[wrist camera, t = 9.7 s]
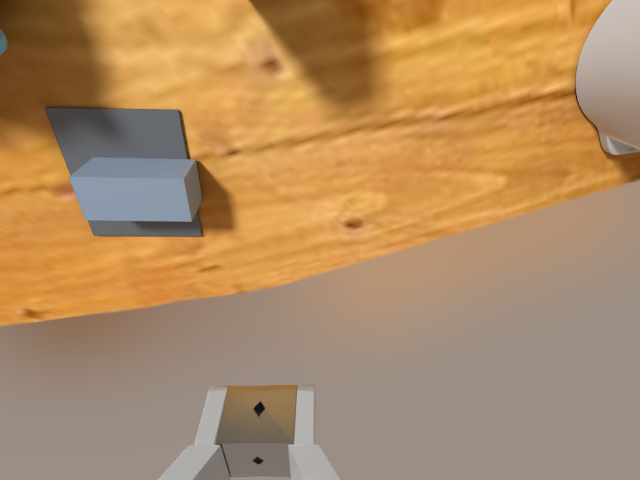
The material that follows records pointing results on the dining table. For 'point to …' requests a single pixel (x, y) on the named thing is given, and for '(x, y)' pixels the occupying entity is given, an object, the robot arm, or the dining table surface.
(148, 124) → the mat
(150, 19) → the dining table surface
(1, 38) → the decorative pot
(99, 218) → the block
